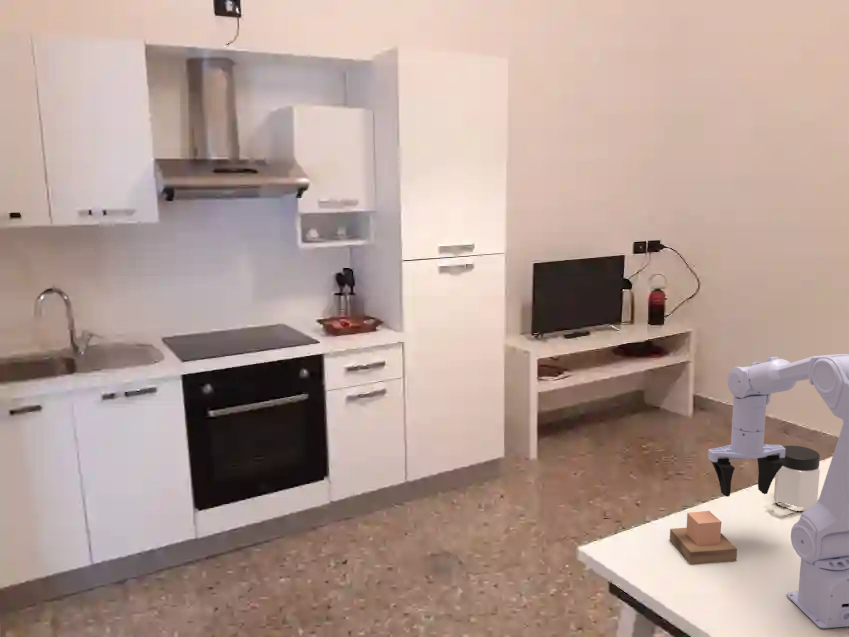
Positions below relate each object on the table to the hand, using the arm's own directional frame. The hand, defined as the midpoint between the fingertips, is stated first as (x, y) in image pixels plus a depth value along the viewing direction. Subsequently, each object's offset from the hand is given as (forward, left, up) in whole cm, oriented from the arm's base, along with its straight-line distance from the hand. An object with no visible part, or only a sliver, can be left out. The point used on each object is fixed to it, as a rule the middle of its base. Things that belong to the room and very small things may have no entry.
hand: (744, 493), depth 135 cm
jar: (+14, -20, -11) cm, 27 cm away
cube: (-2, +9, -8) cm, 12 cm away
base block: (-2, +9, -10) cm, 14 cm away
